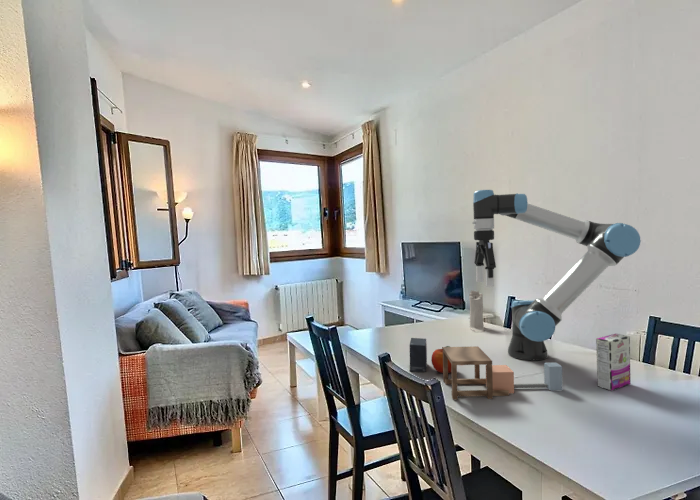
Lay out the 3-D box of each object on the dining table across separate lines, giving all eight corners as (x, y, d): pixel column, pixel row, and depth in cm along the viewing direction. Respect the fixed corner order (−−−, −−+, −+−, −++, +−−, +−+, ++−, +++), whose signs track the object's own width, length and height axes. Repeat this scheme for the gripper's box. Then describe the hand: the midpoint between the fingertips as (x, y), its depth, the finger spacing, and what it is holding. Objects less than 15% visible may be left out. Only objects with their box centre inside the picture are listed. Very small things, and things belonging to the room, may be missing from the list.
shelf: (495, 380, 144) (494, 346, 144) (511, 398, 128) (510, 360, 128) (443, 381, 145) (442, 347, 144) (453, 399, 129) (452, 361, 128)
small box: (426, 372, 154) (426, 345, 154) (409, 371, 156) (408, 344, 155) (427, 363, 165) (426, 337, 164) (411, 363, 166) (410, 337, 166)
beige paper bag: (472, 332, 212) (471, 293, 211) (469, 325, 226) (468, 289, 225) (486, 332, 211) (486, 293, 210) (482, 326, 225) (482, 289, 224)
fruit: (440, 365, 162) (439, 340, 161) (462, 370, 155) (461, 344, 154) (426, 372, 155) (425, 345, 154) (448, 377, 148) (447, 350, 148)
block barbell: (554, 384, 139) (554, 361, 139) (564, 392, 132) (564, 368, 132) (485, 385, 140) (485, 362, 139) (492, 393, 133) (491, 369, 132)
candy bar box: (615, 380, 141) (615, 332, 140) (631, 384, 137) (631, 336, 136) (595, 386, 136) (595, 337, 135) (611, 391, 132) (611, 341, 131)
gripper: (466, 230, 172) (467, 280, 173) (483, 230, 148) (484, 288, 148) (484, 229, 172) (485, 280, 173) (504, 229, 147) (505, 288, 148)
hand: (484, 284), depth 161 cm, fingers open, 13 cm apart
